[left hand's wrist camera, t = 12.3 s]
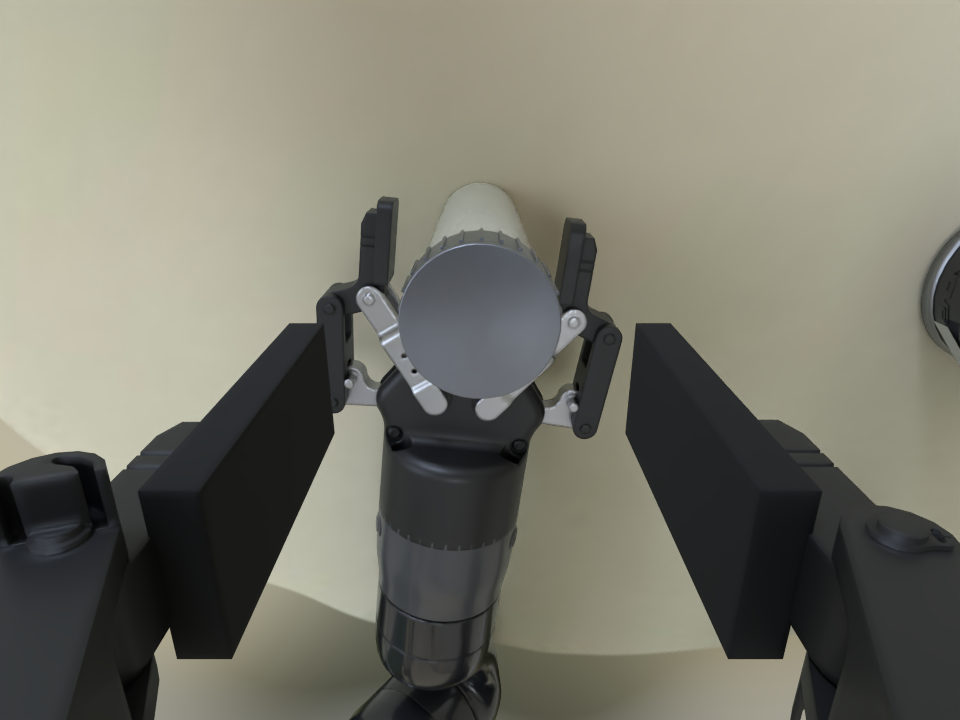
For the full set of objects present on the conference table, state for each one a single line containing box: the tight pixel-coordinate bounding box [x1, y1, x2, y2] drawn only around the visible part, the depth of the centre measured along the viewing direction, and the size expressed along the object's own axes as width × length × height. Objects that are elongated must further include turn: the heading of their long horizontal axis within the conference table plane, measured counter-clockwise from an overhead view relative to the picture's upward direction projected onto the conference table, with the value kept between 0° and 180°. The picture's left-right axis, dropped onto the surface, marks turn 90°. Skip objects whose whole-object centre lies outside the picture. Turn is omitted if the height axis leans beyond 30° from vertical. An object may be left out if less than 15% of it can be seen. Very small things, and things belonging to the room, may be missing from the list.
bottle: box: [429, 182, 532, 250], centre depth 26 cm, size 4×4×18 cm
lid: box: [397, 228, 562, 399], centre depth 19 cm, size 5×5×2 cm
